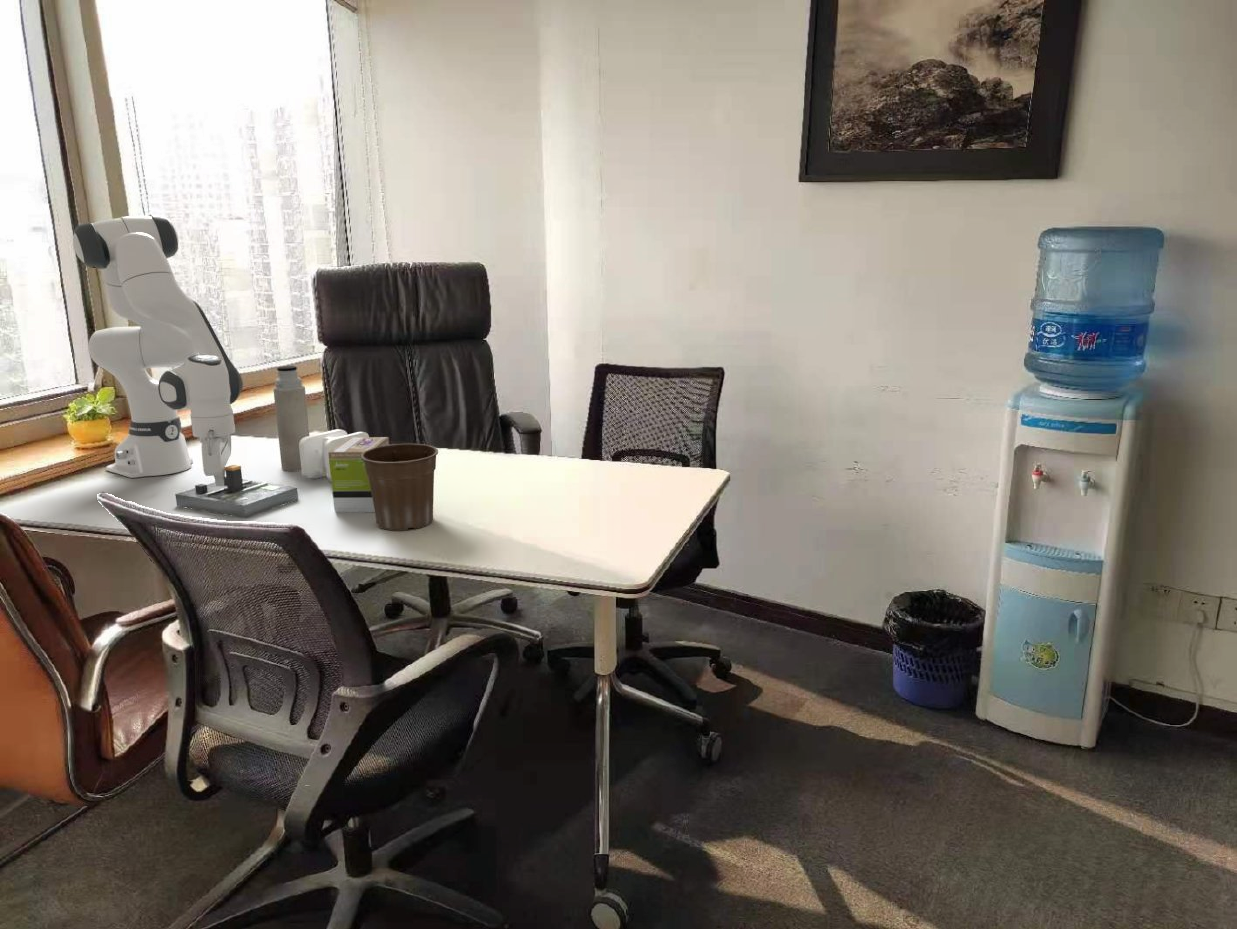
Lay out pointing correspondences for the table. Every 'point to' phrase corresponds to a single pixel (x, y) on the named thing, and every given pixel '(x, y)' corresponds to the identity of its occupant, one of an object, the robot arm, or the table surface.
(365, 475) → the tea box
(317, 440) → the cable organizer
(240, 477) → the breaker lever
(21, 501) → the table surface
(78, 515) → the table surface
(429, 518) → the plant pot
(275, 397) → the thermos bottle
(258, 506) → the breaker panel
